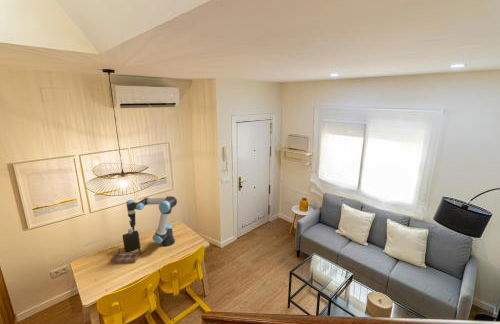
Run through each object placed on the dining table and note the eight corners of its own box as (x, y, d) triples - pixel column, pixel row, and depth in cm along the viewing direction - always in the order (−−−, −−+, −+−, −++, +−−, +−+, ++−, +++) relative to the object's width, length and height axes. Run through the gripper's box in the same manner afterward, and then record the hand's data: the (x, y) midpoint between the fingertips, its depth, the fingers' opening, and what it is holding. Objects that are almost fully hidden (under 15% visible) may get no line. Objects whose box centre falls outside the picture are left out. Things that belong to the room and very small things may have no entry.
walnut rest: (141, 252, 272) (140, 248, 271) (135, 262, 255) (134, 258, 254) (119, 253, 271) (118, 249, 269) (111, 264, 253) (110, 259, 252)
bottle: (140, 248, 280) (138, 228, 274) (125, 253, 271) (122, 233, 264) (139, 244, 286) (136, 226, 280) (124, 250, 277) (121, 230, 270)
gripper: (130, 210, 283) (132, 228, 289) (125, 215, 271) (128, 234, 277) (137, 210, 284) (139, 228, 290) (132, 215, 271) (135, 234, 277)
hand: (134, 231), depth 283 cm, fingers closed
